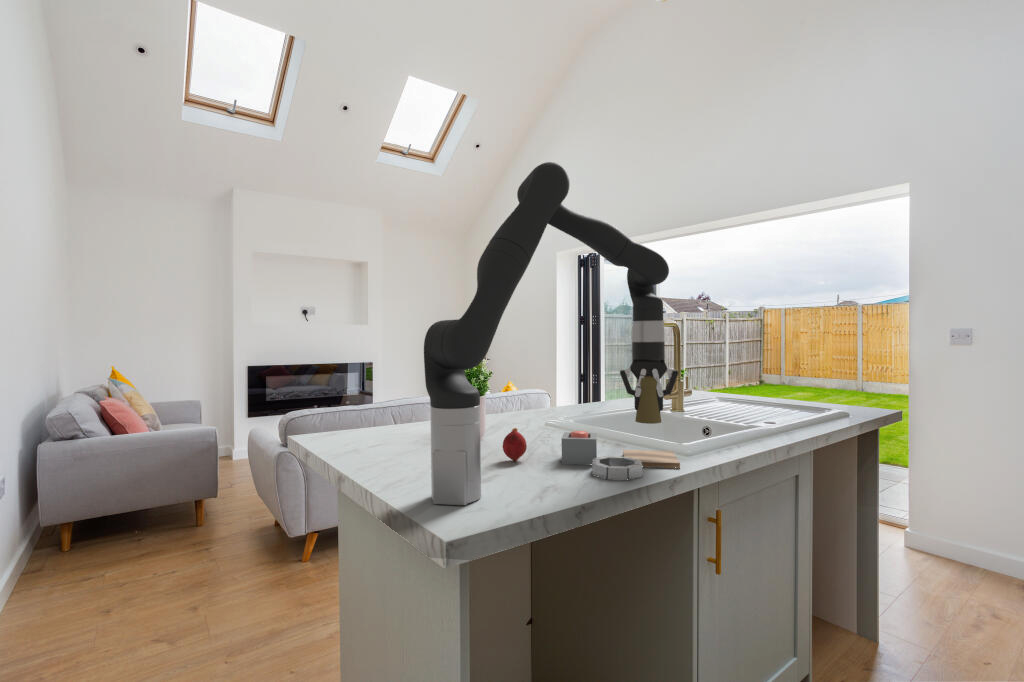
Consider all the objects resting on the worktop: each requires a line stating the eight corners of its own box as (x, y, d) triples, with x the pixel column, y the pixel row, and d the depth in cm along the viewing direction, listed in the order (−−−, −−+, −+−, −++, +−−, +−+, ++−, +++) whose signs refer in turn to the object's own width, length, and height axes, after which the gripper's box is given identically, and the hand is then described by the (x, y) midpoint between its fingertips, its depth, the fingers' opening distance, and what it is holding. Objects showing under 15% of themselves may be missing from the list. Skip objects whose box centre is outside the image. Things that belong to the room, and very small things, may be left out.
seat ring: (643, 481, 103) (643, 468, 103) (592, 479, 105) (591, 467, 105) (640, 468, 114) (639, 456, 114) (593, 466, 116) (592, 455, 116)
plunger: (587, 459, 119) (587, 434, 119) (570, 459, 120) (570, 433, 120) (588, 455, 123) (588, 431, 123) (571, 455, 124) (571, 430, 124)
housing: (596, 465, 117) (596, 439, 117) (561, 464, 118) (561, 438, 118) (596, 457, 125) (596, 432, 125) (564, 456, 126) (564, 432, 126)
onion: (522, 464, 118) (522, 430, 118) (499, 463, 120) (498, 429, 120) (529, 459, 124) (529, 426, 123) (507, 457, 125) (507, 425, 125)
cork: (633, 422, 118) (633, 376, 118) (636, 418, 124) (636, 374, 124) (660, 424, 116) (660, 376, 116) (662, 420, 122) (661, 374, 122)
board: (679, 468, 113) (679, 463, 113) (625, 466, 115) (625, 461, 115) (672, 456, 125) (672, 451, 125) (623, 454, 127) (623, 449, 127)
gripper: (618, 340, 117) (618, 414, 117) (681, 340, 115) (682, 415, 115) (617, 340, 125) (617, 409, 125) (676, 339, 122) (677, 410, 122)
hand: (648, 412), depth 120 cm, fingers closed on cork, 3 cm apart
